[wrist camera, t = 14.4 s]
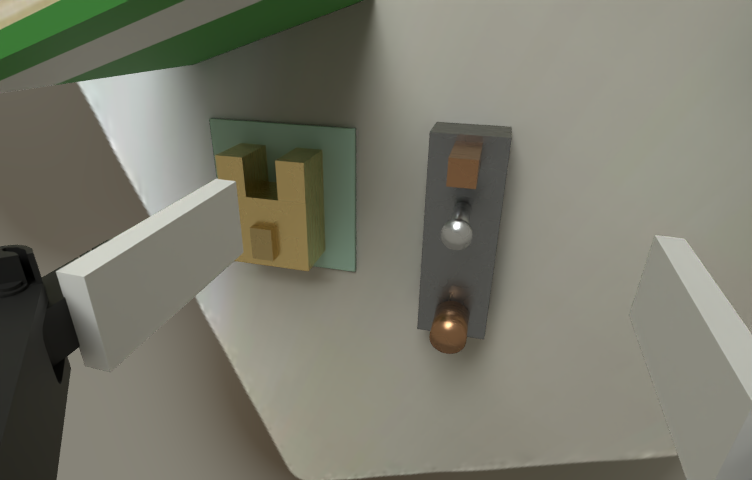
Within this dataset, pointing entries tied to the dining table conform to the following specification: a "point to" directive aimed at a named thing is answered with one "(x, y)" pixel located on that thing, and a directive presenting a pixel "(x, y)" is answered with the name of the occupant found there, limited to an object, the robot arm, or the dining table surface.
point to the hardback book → (133, 34)
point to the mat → (336, 173)
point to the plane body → (461, 230)
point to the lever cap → (278, 205)
